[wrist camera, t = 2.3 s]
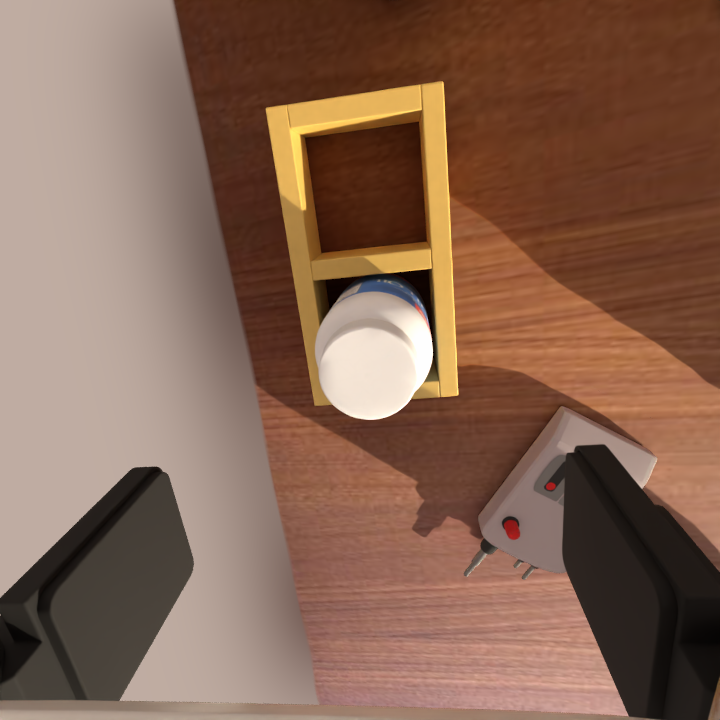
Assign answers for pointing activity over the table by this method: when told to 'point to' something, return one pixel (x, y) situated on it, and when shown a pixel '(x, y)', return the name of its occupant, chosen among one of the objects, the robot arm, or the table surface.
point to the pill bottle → (374, 347)
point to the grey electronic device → (548, 492)
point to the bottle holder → (315, 268)
